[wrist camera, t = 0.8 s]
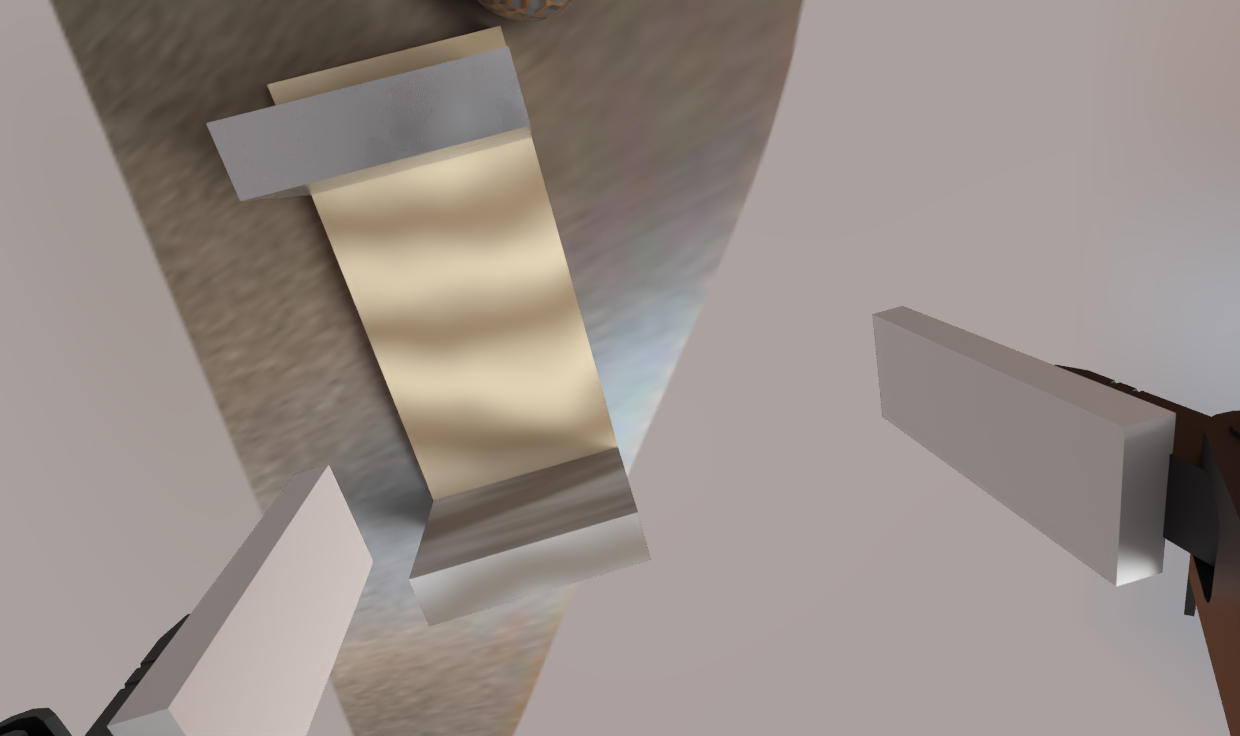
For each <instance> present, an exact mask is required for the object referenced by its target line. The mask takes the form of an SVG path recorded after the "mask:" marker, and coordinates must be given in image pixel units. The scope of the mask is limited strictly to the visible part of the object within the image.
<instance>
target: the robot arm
mask: <svg viewBox="0 0 1240 736" xmlns="http://www.w3.org/2000/svg"><path fill="white" fill-rule="evenodd" d="M873 325H874V335H875V345H876V355H877V366H878V377H879V387H880V397H881V408H882V416H883V417H884V418H885V419H886V420H888V421H890V422H891V423H892V424H893V425H895V426H896V427H898V428H899V429H900V430H902V431H903V432H904V433H906V434H907V435H909V436H910V437H911V438H913V439H914V440H915V441H917V442H918V443H920V444H921V445H922V446H924V447H925V448H926V449H928V450H929V451H930V452H932V453H933V454H935V455H936V456H937V457H939V458H940V459H941V460H943V461H944V462H946V463H947V464H948V465H950V466H951V467H952V468H954V469H955V470H957V471H958V472H959V473H961V474H962V475H963V476H965V477H966V478H968V479H969V480H970V481H972V482H973V483H974V484H976V485H977V486H979V487H980V488H981V489H983V490H984V491H985V492H987V493H988V494H990V495H991V496H992V497H994V498H995V499H997V500H998V501H1000V502H1001V503H1002V504H1003V505H1005V506H1006V507H1007V508H1009V509H1010V510H1012V511H1013V512H1014V513H1016V514H1017V515H1018V516H1020V517H1021V518H1023V519H1024V520H1025V521H1027V522H1028V523H1029V524H1031V525H1032V526H1034V527H1035V528H1036V529H1038V530H1039V531H1040V532H1042V533H1043V534H1045V535H1046V536H1047V537H1049V538H1050V539H1051V540H1053V541H1054V542H1056V543H1057V544H1058V545H1060V546H1061V547H1062V548H1064V549H1065V550H1067V551H1068V552H1069V553H1071V554H1072V555H1073V556H1075V557H1076V558H1078V559H1079V560H1080V561H1082V562H1083V563H1085V564H1086V565H1087V566H1089V567H1090V568H1092V569H1093V570H1094V571H1095V572H1097V573H1098V574H1100V575H1101V576H1102V577H1104V578H1105V579H1106V580H1108V581H1109V582H1111V583H1112V584H1114V585H1115V586H1116V587H1117V586H1120V585H1123V584H1126V583H1130V582H1133V581H1136V580H1139V579H1143V578H1146V577H1149V576H1153V575H1156V574H1159V573H1162V570H1163V558H1164V547H1165V538H1166V539H1167V540H1169V541H1171V542H1172V543H1174V544H1176V545H1177V546H1179V547H1181V548H1182V549H1184V550H1186V551H1187V552H1189V553H1191V554H1190V563H1189V573H1188V583H1187V593H1186V601H1185V611H1184V614H1185V615H1190V616H1194V614H1195V610H1196V606H1197V609H1198V613H1199V617H1200V620H1201V625H1202V628H1203V632H1204V636H1205V639H1206V643H1207V647H1208V651H1209V655H1210V659H1211V663H1212V666H1213V670H1214V674H1215V678H1216V682H1217V685H1218V689H1219V693H1220V697H1221V700H1222V705H1223V708H1224V712H1225V716H1226V720H1227V724H1228V727H1229V731H1230V735H1231V736H1240V411H1231V412H1226V413H1222V414H1216V415H1214V416H1212V417H1210V416H1208V415H1205V414H1202V413H1200V412H1197V411H1194V410H1192V409H1189V408H1187V407H1184V406H1181V405H1179V404H1176V403H1173V402H1171V401H1168V400H1165V399H1163V398H1160V397H1157V396H1154V395H1152V394H1149V393H1147V392H1144V391H1140V392H1138V391H1137V389H1136V388H1133V387H1131V386H1128V385H1126V384H1123V383H1115V381H1114V380H1112V379H1109V378H1107V377H1104V376H1101V375H1099V374H1096V373H1094V372H1091V371H1088V370H1082V369H1077V368H1071V367H1066V366H1060V365H1052V364H1049V363H1047V362H1044V361H1042V360H1039V359H1037V358H1034V357H1032V356H1029V355H1026V354H1024V353H1021V352H1019V351H1016V350H1014V349H1011V348H1008V347H1006V346H1003V345H1001V344H998V343H996V342H993V341H991V340H988V339H986V338H983V337H980V336H978V335H975V334H973V333H970V332H968V331H965V330H963V329H960V328H958V327H955V326H952V325H950V324H947V323H945V322H942V321H940V320H937V319H935V318H932V317H929V316H927V315H924V314H922V313H919V312H917V311H914V310H912V309H909V308H906V307H904V306H901V307H897V308H894V309H890V310H886V311H883V312H879V313H875V314H873ZM372 564H373V560H372V558H371V556H370V553H369V551H368V549H367V547H366V545H365V542H364V540H363V538H362V536H361V534H360V532H359V529H358V527H357V525H356V523H355V521H354V519H353V516H352V514H351V512H350V510H349V508H348V505H347V503H346V501H345V499H344V497H343V495H342V492H341V490H340V488H339V486H338V484H337V481H336V479H335V477H334V475H333V473H332V471H331V468H330V466H329V464H328V465H325V466H321V467H318V468H314V469H310V470H307V471H303V472H299V473H296V474H295V475H294V476H293V477H292V479H291V480H290V481H289V483H288V484H287V485H286V487H285V488H284V489H283V491H282V492H281V493H280V495H279V496H278V498H277V499H276V500H275V502H274V503H273V504H272V506H271V507H270V508H269V510H268V511H267V512H266V514H265V515H264V516H263V518H262V519H261V520H260V522H259V523H258V524H257V526H256V527H255V528H254V530H253V531H252V532H251V534H250V535H249V536H248V538H247V539H246V540H245V542H244V543H243V544H242V546H241V547H240V548H239V550H238V551H237V553H236V554H235V555H234V557H233V558H232V559H231V561H230V562H229V563H228V565H227V566H226V567H225V569H224V570H223V571H222V573H221V574H220V575H219V577H218V578H217V579H216V581H215V582H214V583H213V585H212V586H211V587H210V589H209V590H208V591H207V593H206V594H205V595H204V597H203V598H202V599H201V601H200V602H199V604H198V605H197V606H196V608H195V609H194V610H193V611H192V613H191V614H188V615H186V616H185V617H184V618H183V619H182V620H181V621H180V622H178V623H177V624H176V625H175V626H174V627H173V628H171V630H169V631H168V632H167V633H166V634H165V635H164V636H162V637H161V638H160V639H159V640H158V641H157V643H156V644H155V645H154V647H153V648H152V649H151V651H150V652H149V653H148V654H147V656H146V657H145V658H144V660H143V661H142V662H141V667H140V668H137V669H136V670H135V671H134V673H133V674H132V675H131V676H130V678H129V679H128V680H127V682H126V683H125V688H124V689H121V690H120V691H119V692H118V693H117V695H116V696H115V697H114V698H113V700H112V701H111V702H110V704H109V705H108V706H107V707H106V709H105V710H104V711H103V713H102V714H101V715H100V717H99V718H98V719H97V720H96V722H95V723H94V724H93V726H92V727H91V728H90V730H89V731H88V732H87V733H86V735H85V736H306V734H307V732H308V729H309V726H310V724H311V721H312V719H313V716H314V714H315V711H316V708H317V706H318V703H319V700H320V698H321V696H322V693H323V690H324V688H325V685H326V683H327V680H328V677H329V675H330V672H331V670H332V667H333V665H334V662H335V659H336V657H337V654H338V652H339V649H340V647H341V644H342V641H343V639H344V636H345V634H346V631H347V629H348V626H349V623H350V621H351V618H352V616H353V613H354V611H355V608H356V605H357V603H358V600H359V598H360V595H361V592H362V590H363V587H364V585H365V582H366V580H367V577H368V574H369V572H370V569H371V567H372ZM0 736H72V735H71V734H70V732H69V731H68V730H67V729H66V727H65V726H64V724H63V723H62V722H61V720H60V719H59V718H58V717H57V715H56V714H55V713H54V712H53V711H52V710H50V709H49V708H38V709H31V710H29V711H26V712H23V713H20V714H17V715H14V716H12V717H10V718H8V719H6V720H4V721H2V722H0Z"/></svg>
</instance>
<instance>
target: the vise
mask: <svg viewBox="0 0 1240 736" xmlns="http://www.w3.org/2000/svg"><path fill="white" fill-rule="evenodd" d="M504 47H506V44H505V41H504V37H503V33H502V30H501V26H497V27H493V28H490V29H486V30H482V31H478V32H474V33H470V34H466V35H462V36H458V37H454V38H450V39H446V40H442V41H438V42H434V43H430V44H426V45H422V46H418V47H414V48H410V49H406V50H402V51H398V52H394V53H390V54H386V55H382V56H378V57H375V58H371V59H367V60H363V61H359V62H355V63H351V64H347V65H343V66H339V67H335V68H331V69H327V70H323V71H319V72H315V73H311V74H307V75H303V76H299V77H295V78H291V79H287V80H283V81H279V82H275V83H271V84H267V85H268V88H269V90H270V93H271V95H272V98H273V100H274V103H275V105H280V104H284V103H288V102H291V101H295V100H299V99H303V98H307V97H311V96H315V95H319V94H323V93H327V92H331V91H335V90H339V89H343V88H347V87H351V86H354V85H358V84H362V83H366V82H370V81H374V80H378V79H382V78H386V77H390V76H394V75H398V74H402V73H406V72H410V71H414V70H417V69H421V68H425V67H429V66H433V65H437V64H441V63H445V62H449V61H453V60H457V59H461V58H465V57H469V56H473V55H477V54H480V53H484V52H488V51H492V50H496V49H500V48H504ZM312 198H313V200H314V203H315V205H316V208H317V210H318V213H319V215H320V218H321V220H322V223H323V225H324V228H325V230H326V233H327V235H328V238H329V240H330V243H331V245H332V248H333V250H334V253H335V255H336V258H337V260H338V263H339V265H340V268H341V270H342V273H343V275H344V278H345V280H346V283H347V285H348V288H349V290H350V293H351V295H352V298H353V300H354V303H355V305H356V308H357V310H358V313H359V315H360V318H361V320H362V323H363V325H364V328H365V330H366V333H367V335H368V338H369V340H370V343H371V345H372V348H373V350H374V353H375V355H376V358H377V360H378V363H379V365H380V368H381V370H382V373H383V375H384V378H385V380H386V383H387V385H388V388H389V390H390V393H391V395H392V398H393V400H394V403H395V405H396V408H397V410H398V413H399V415H400V418H401V420H402V423H403V425H404V428H405V430H406V433H407V435H408V438H409V440H410V443H411V445H412V448H413V450H414V453H415V455H416V458H417V460H418V463H419V465H420V468H421V470H422V473H423V475H424V478H425V480H426V483H427V485H428V488H429V490H430V493H431V495H432V498H433V500H434V501H433V504H432V507H431V510H430V514H429V517H428V520H427V523H426V526H425V530H424V533H423V536H422V539H421V543H420V546H419V549H418V552H417V555H416V559H415V562H414V565H413V568H412V571H411V575H410V578H409V581H410V583H411V586H412V588H413V590H414V592H415V595H416V597H417V599H418V602H419V604H420V606H421V609H422V611H423V613H424V615H425V618H426V620H427V622H428V625H429V626H432V625H435V624H439V623H442V622H445V621H449V620H452V619H455V618H459V617H462V616H465V615H469V614H472V613H475V612H479V611H482V610H485V609H489V608H492V607H496V606H499V605H502V604H506V603H509V602H512V601H516V600H519V599H522V598H526V597H529V596H532V595H536V594H539V593H542V592H546V591H549V590H552V589H556V588H559V587H562V586H566V585H569V584H572V583H576V582H579V581H582V580H586V579H589V578H592V577H596V576H599V575H602V574H606V573H609V572H613V571H615V570H619V569H622V568H626V567H629V566H633V565H636V564H639V563H642V562H646V561H649V560H651V558H650V554H649V551H648V547H647V544H646V540H645V536H644V533H643V529H642V526H641V522H640V518H639V515H638V511H637V508H636V505H635V502H634V498H633V495H632V492H631V488H630V485H629V482H628V479H627V475H626V472H625V469H624V466H623V462H622V459H621V456H620V453H619V449H618V446H617V442H616V439H615V435H614V432H613V428H612V424H611V421H610V417H609V414H608V410H607V406H606V403H605V399H604V396H603V392H602V388H601V385H600V381H599V378H598V374H597V371H596V367H595V363H594V360H593V356H592V353H591V349H590V345H589V342H588V338H587V335H586V331H585V327H584V324H583V320H582V317H581V313H580V310H579V306H578V302H577V299H576V295H575V292H574V288H573V284H572V281H571V277H570V274H569V270H568V266H567V263H566V259H565V256H564V252H563V249H562V245H561V241H560V238H559V234H558V231H557V227H556V223H555V220H554V216H553V213H552V209H551V206H550V202H549V198H548V195H547V191H546V188H545V184H544V180H543V177H542V173H541V170H540V166H539V162H538V159H537V155H536V152H535V148H534V145H533V141H532V137H531V138H527V139H523V140H520V141H516V142H512V143H508V144H504V145H500V146H497V147H493V148H489V149H485V150H481V151H478V152H474V153H470V154H466V155H462V156H458V157H455V158H451V159H447V160H443V161H439V162H435V163H432V164H428V165H424V166H420V167H416V168H413V169H409V170H405V171H401V172H397V173H393V174H390V175H386V176H382V177H378V178H374V179H371V180H367V181H363V182H359V183H355V184H351V185H348V186H344V187H340V188H336V189H332V190H329V191H325V192H321V193H317V194H313V195H312Z"/></svg>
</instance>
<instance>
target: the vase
mask: <svg viewBox="0 0 1240 736" xmlns="http://www.w3.org/2000/svg"><path fill="white" fill-rule="evenodd" d="M477 1H478V2H479V3H480V4H481V5H482V6H484V7H485V8H486V9H488V10H489V11H491V12H493V13H495V14H497V15H499V16H501V17H504V18H507V19H510V20H515V21H537V20H541V19H545V18H547V17H550V16H552V15H554V14H556V13H558V12H559V11H561V10H562V9H563V8H565V7H566V6H567V5H568V4H569V3H570V2H571V1H572V0H477Z"/></svg>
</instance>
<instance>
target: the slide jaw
mask: <svg viewBox="0 0 1240 736" xmlns="http://www.w3.org/2000/svg"><path fill="white" fill-rule="evenodd" d="M206 124H207V127H208V129H209V131H210V133H211V136H212V138H213V140H214V143H215V145H216V147H217V149H218V152H219V154H220V156H221V158H222V161H223V163H224V165H225V168H226V170H227V172H228V174H229V177H230V179H231V181H232V184H233V186H234V188H235V190H236V193H237V195H238V197H239V200H240V201H251V200H262V199H274V198H286V197H298V196H309V195H313V194H317V193H321V192H325V191H329V190H332V189H336V188H340V187H344V186H348V185H351V184H355V183H359V182H363V181H367V180H371V179H374V178H378V177H382V176H386V175H390V174H393V173H397V172H401V171H405V170H409V169H413V168H416V167H420V166H424V165H428V164H432V163H435V162H439V161H443V160H447V159H451V158H455V157H458V156H462V155H466V154H470V153H474V152H478V151H481V150H485V149H489V148H493V147H497V146H500V145H504V144H508V143H512V142H516V141H520V140H523V139H527V138H531V125H530V122H529V118H528V115H527V111H526V107H525V104H524V100H523V97H522V93H521V89H520V86H519V82H518V79H517V75H516V71H515V68H514V64H513V61H512V57H511V53H510V50H509V46H508V47H504V48H500V49H496V50H492V51H488V52H484V53H480V54H477V55H473V56H469V57H465V58H461V59H457V60H453V61H449V62H445V63H441V64H437V65H433V66H429V67H425V68H421V69H417V70H414V71H410V72H406V73H402V74H398V75H394V76H390V77H386V78H382V79H378V80H374V81H370V82H366V83H362V84H358V85H354V86H351V87H347V88H343V89H339V90H335V91H331V92H327V93H323V94H319V95H315V96H311V97H307V98H303V99H299V100H295V101H291V102H288V103H284V104H280V105H276V106H272V107H268V108H264V109H260V110H256V111H252V112H248V113H244V114H240V115H236V116H232V117H229V118H225V119H221V120H217V121H213V122H209V123H206Z"/></svg>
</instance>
